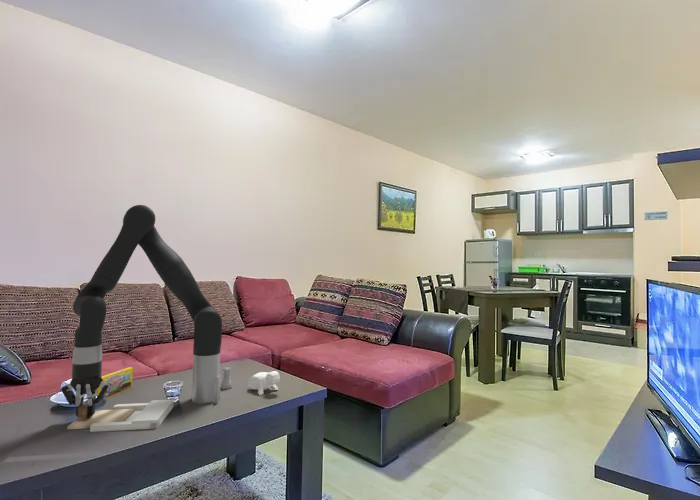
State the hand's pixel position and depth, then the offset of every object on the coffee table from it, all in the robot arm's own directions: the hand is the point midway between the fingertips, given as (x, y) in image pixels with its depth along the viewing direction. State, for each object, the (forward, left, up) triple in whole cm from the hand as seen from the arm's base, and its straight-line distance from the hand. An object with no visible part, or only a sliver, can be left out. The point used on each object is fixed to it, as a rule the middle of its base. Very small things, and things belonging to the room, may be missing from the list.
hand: (85, 417), depth 117 cm
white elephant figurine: (-53, -24, -2) cm, 58 cm away
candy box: (+3, -27, -2) cm, 27 cm away
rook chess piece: (-37, -30, -2) cm, 48 cm away
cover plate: (-5, 0, -1) cm, 5 cm away
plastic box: (-14, 0, -2) cm, 14 cm away
